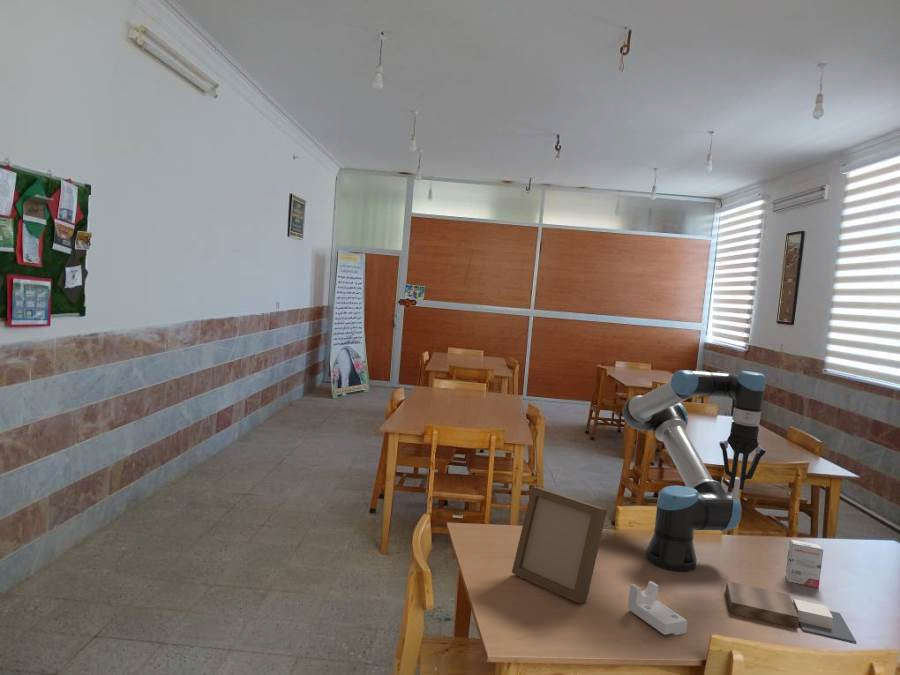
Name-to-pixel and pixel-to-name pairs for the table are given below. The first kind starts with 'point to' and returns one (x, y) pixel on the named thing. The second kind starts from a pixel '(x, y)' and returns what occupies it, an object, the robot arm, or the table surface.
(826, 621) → the cream rectangular block
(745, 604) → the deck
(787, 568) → the ink box
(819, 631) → the mat
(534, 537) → the photo frame
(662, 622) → the bracket
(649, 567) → the table surface
